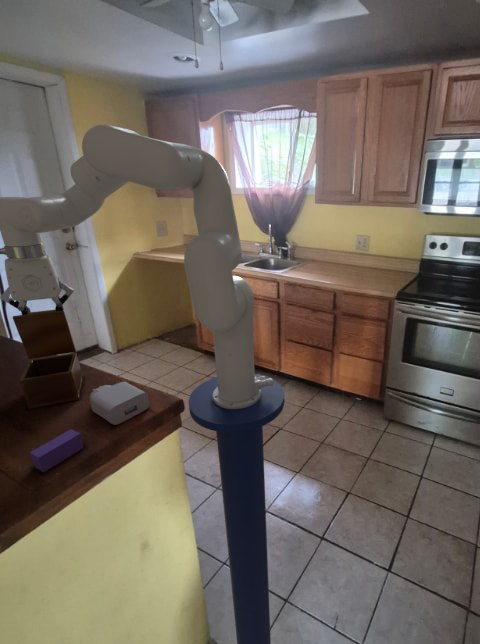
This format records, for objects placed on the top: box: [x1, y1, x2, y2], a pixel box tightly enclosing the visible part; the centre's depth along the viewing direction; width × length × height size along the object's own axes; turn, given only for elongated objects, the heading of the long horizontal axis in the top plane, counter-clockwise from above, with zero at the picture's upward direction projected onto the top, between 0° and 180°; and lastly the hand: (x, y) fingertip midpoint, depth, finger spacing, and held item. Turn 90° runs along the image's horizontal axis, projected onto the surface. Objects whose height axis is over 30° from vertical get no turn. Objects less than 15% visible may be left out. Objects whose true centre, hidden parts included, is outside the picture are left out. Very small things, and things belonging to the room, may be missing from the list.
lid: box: [11, 309, 77, 360], centre depth 95 cm, size 12×11×5 cm
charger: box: [89, 381, 150, 426], centre depth 89 cm, size 5×9×15 cm
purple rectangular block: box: [29, 429, 84, 473], centre depth 73 cm, size 8×3×4 cm, turn 152°
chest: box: [19, 352, 84, 410], centre depth 94 cm, size 12×11×8 cm
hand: (46, 321), depth 96 cm, fingers closed on lid, 6 cm apart
